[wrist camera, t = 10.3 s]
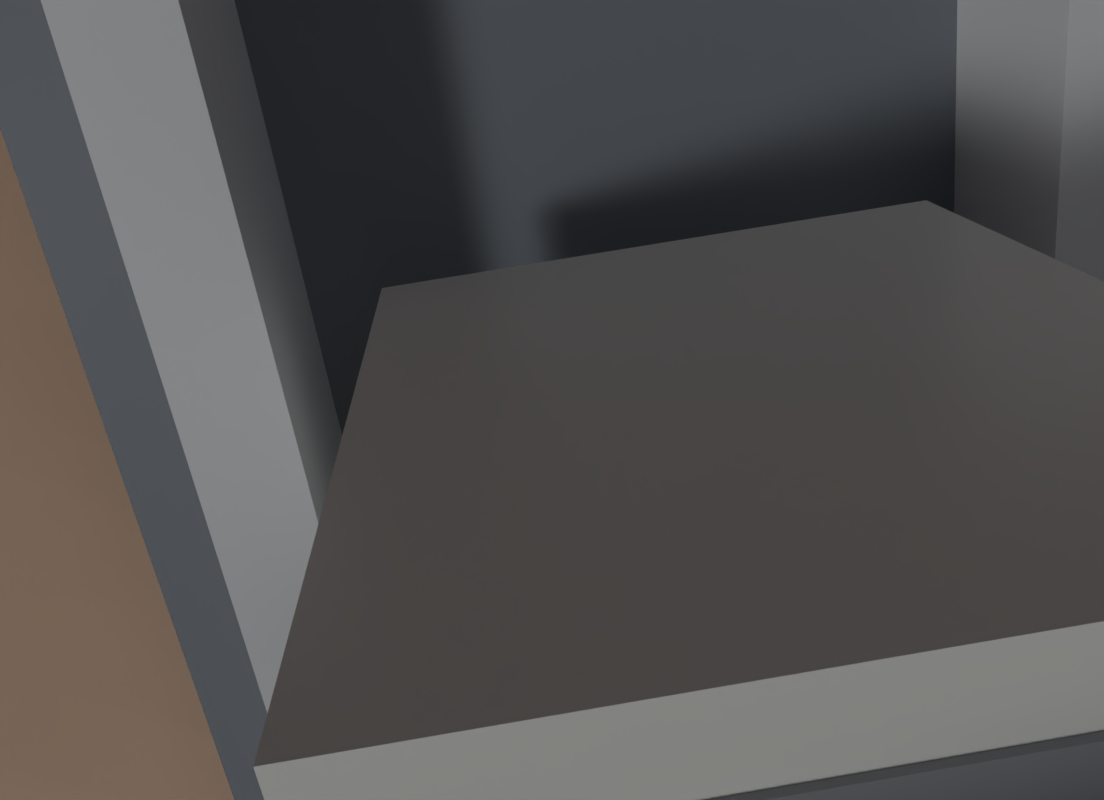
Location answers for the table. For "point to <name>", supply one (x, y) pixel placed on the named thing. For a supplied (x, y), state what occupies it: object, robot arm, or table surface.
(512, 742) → the block
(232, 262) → the grey rail base plate
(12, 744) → the table surface
